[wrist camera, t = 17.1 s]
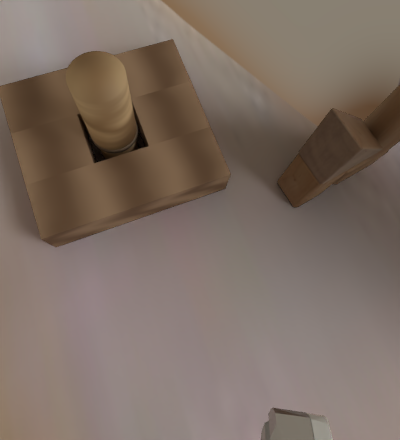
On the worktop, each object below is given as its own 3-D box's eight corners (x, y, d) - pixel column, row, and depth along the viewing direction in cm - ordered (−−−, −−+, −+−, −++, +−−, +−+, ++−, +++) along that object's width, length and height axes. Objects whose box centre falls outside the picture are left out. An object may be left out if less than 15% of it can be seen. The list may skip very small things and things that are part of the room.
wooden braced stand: (274, 181, 38) (357, 72, 21) (353, 138, 40) (488, 4, 23) (294, 210, 38) (396, 121, 20) (372, 164, 40) (527, 47, 22)
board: (172, 65, 41) (172, 39, 37) (225, 188, 38) (230, 174, 34) (15, 109, 38) (-3, 86, 34) (55, 247, 35) (41, 239, 31)
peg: (133, 125, 39) (116, 44, 27) (146, 161, 38) (135, 93, 26) (93, 137, 38) (57, 59, 27) (105, 174, 37) (74, 110, 26)
